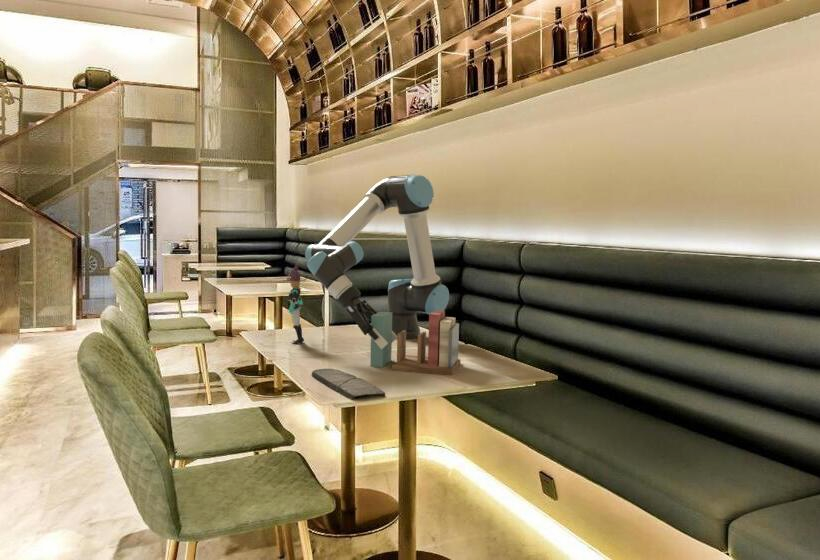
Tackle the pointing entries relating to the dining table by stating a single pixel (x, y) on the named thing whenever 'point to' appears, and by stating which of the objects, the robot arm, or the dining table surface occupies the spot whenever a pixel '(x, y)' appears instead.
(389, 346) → the book
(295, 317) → the figurine
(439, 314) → the book rack
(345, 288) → the robot arm
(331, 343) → the dining table surface
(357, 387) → the stone slab
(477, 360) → the dining table surface
